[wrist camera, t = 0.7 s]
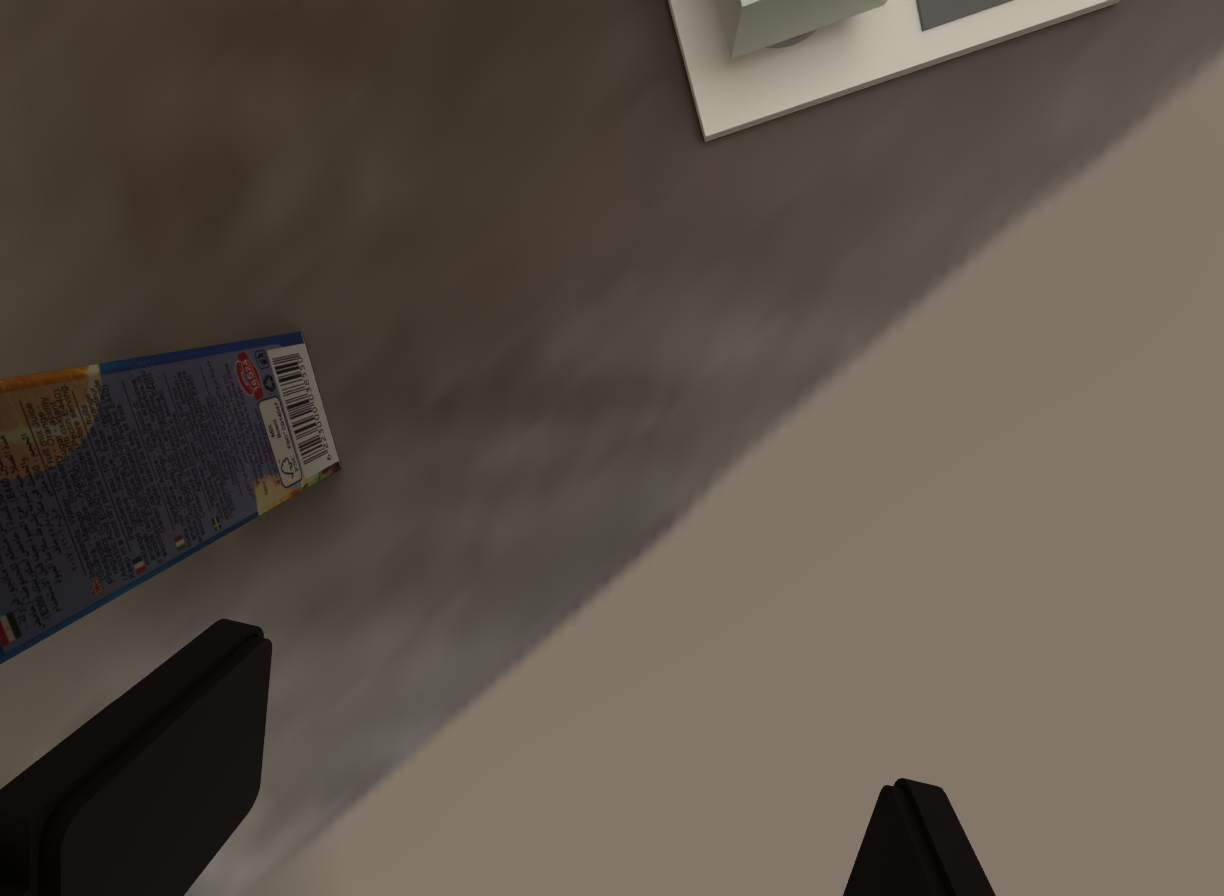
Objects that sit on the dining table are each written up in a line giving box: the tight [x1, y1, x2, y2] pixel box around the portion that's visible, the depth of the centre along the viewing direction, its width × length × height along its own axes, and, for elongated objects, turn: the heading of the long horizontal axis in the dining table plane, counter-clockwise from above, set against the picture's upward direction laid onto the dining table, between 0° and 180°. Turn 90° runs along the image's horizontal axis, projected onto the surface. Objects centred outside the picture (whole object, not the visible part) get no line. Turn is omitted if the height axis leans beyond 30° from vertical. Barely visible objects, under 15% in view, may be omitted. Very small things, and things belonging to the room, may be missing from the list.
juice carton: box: [0, 332, 341, 664], centre depth 28 cm, size 12×8×24 cm, turn 102°
